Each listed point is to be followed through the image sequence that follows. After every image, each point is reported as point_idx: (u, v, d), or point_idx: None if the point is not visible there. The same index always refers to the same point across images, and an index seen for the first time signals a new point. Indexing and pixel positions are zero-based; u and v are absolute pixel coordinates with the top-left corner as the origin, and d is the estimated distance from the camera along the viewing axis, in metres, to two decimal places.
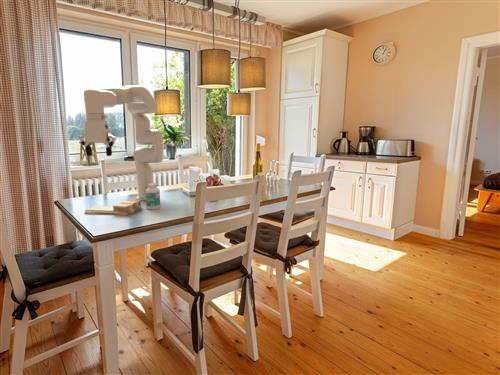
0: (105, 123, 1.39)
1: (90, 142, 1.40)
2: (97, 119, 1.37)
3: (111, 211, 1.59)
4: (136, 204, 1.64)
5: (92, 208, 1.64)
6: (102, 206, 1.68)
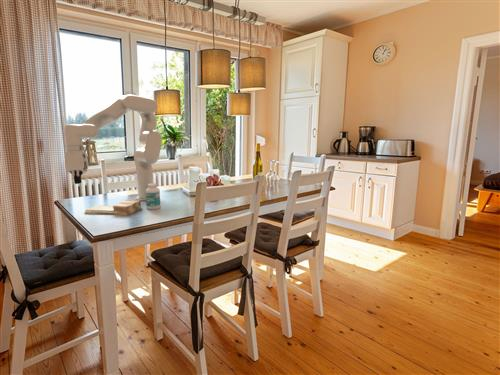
0: (83, 153, 1.59)
1: (69, 169, 1.60)
2: (75, 150, 1.56)
3: (111, 211, 1.59)
4: (136, 204, 1.64)
5: (92, 208, 1.63)
6: (102, 206, 1.68)
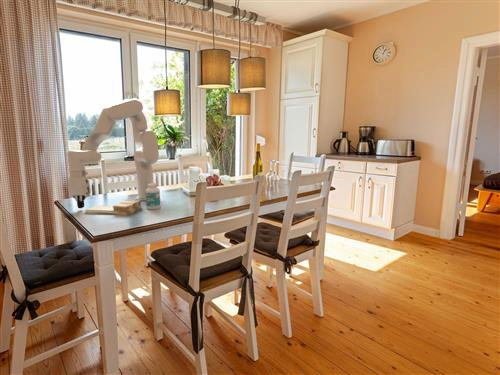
0: (86, 178, 1.62)
1: (73, 194, 1.62)
2: (78, 176, 1.59)
3: (111, 211, 1.59)
4: (136, 204, 1.64)
5: (92, 208, 1.63)
6: (102, 206, 1.68)
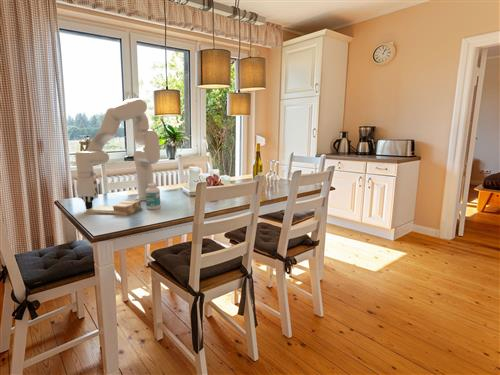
0: (94, 179, 1.61)
1: (81, 196, 1.62)
2: (87, 177, 1.59)
3: (112, 211, 1.59)
4: (136, 204, 1.64)
5: (93, 208, 1.63)
6: (103, 206, 1.68)
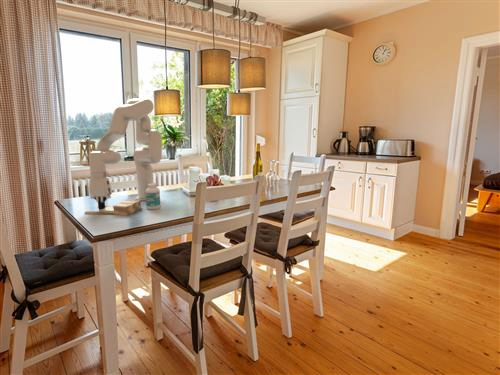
0: (107, 180, 1.61)
1: (94, 196, 1.61)
2: (100, 177, 1.58)
3: None
4: (136, 204, 1.64)
5: (106, 208, 1.62)
6: None
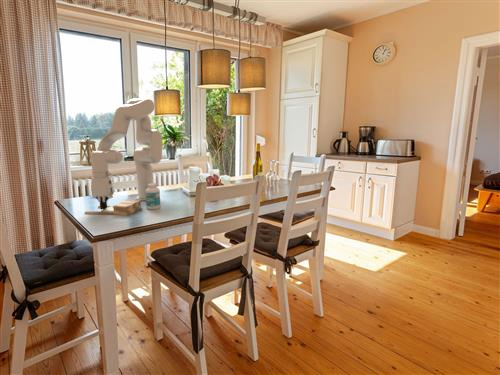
0: (109, 179, 1.60)
1: (96, 195, 1.61)
2: (102, 177, 1.58)
3: None
4: (136, 204, 1.64)
5: (107, 209, 1.62)
6: None
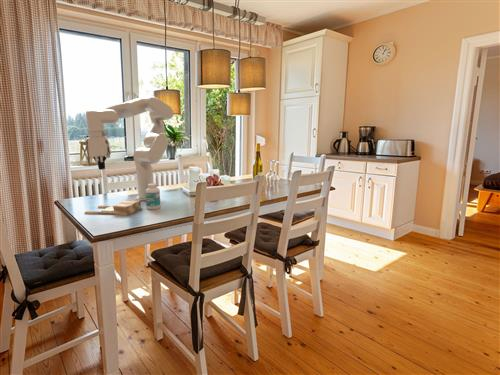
0: (105, 139, 1.61)
1: (93, 156, 1.62)
2: (98, 136, 1.58)
3: None
4: (136, 204, 1.64)
5: (107, 209, 1.62)
6: None
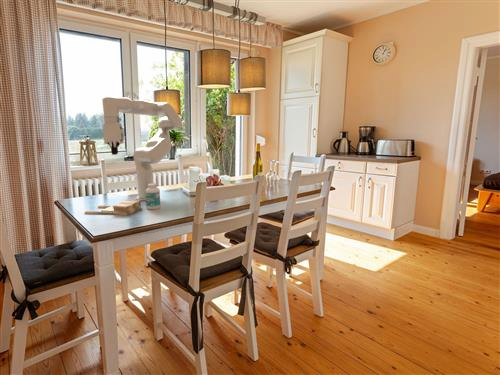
0: (120, 125, 1.66)
1: (107, 141, 1.67)
2: (113, 121, 1.63)
3: None
4: (136, 204, 1.64)
5: (107, 209, 1.62)
6: None
